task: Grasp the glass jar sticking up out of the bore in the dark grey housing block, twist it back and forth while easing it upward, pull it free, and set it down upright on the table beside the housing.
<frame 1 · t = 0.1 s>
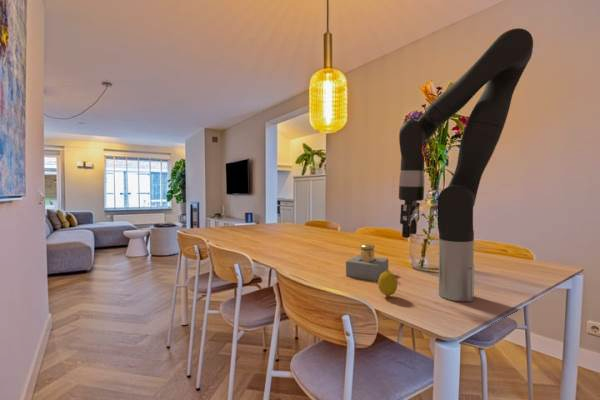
hand: (409, 235, 100), 17 cm above the table, tool pointing down, fingers open, 8 cm apart
lemon: (387, 297, 94), on the table
housing: (367, 274, 117), on the table
glass jar: (367, 260, 117), in the housing
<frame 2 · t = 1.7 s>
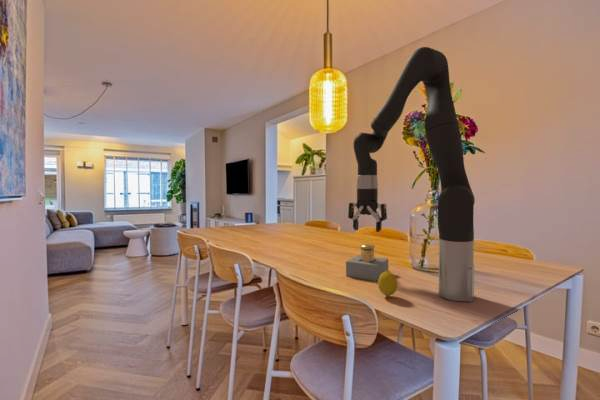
hand: (366, 230, 116), 17 cm above the table, tool pointing down, fingers open, 8 cm apart
nothing on the table moved.
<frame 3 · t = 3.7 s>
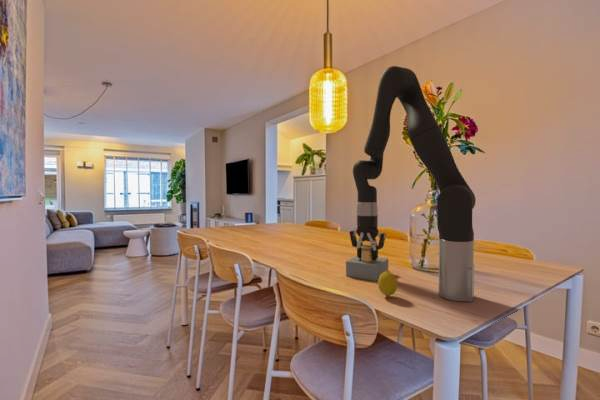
hand: (367, 258, 117), 6 cm above the table, tool pointing down, fingers closed on glass jar, 5 cm apart
glass jar: (367, 260, 117), in the housing, touching gripper
everything else where it was.
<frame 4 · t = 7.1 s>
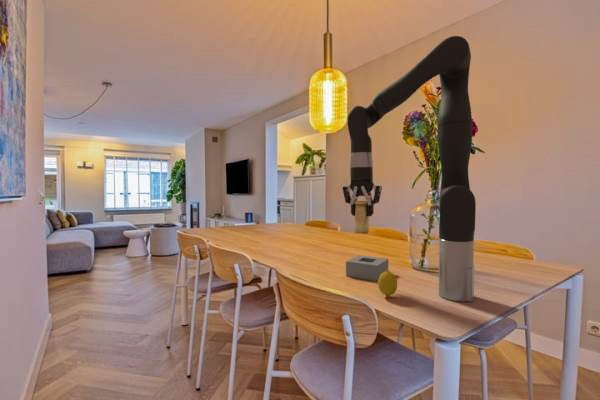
hand: (362, 215, 107), 23 cm above the table, tool pointing down, fingers closed on glass jar, 5 cm apart
glass jar: (361, 216, 107), point 23 cm above the table, touching gripper
everything else where it was.
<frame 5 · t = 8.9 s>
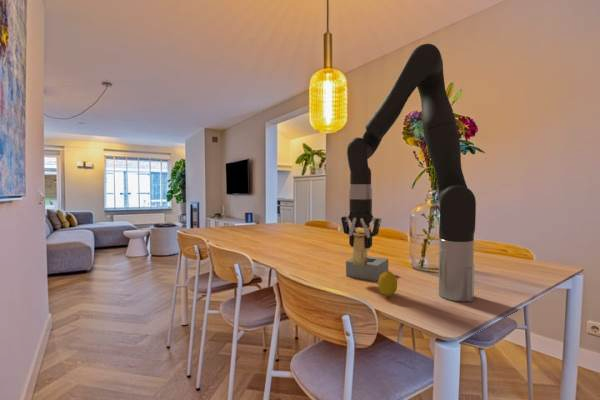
hand: (360, 247, 106), 13 cm above the table, tool pointing down, fingers closed on glass jar, 5 cm apart
glass jar: (360, 248, 106), point 12 cm above the table, touching gripper
everything else where it was.
when the fingers open (7 cm above the table, at t = 10.7 s): glass jar drops 1 cm, on the table.
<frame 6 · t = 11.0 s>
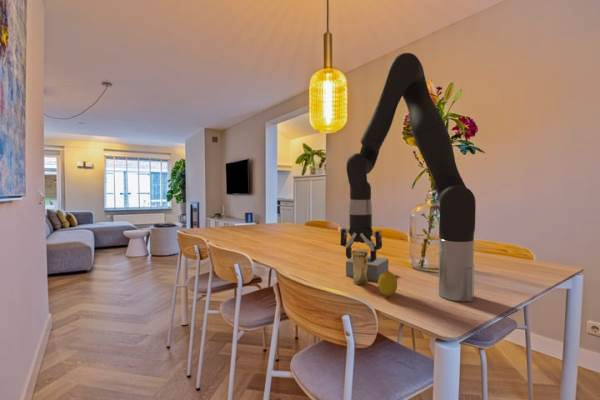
hand: (360, 259, 107), 8 cm above the table, tool pointing down, fingers open, 8 cm apart
glass jar: (360, 267, 107), on the table
everything else where it was.
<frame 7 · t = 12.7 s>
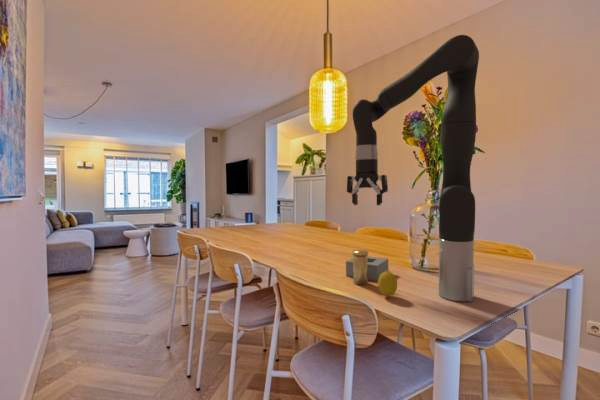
hand: (366, 204, 110), 27 cm above the table, tool pointing down, fingers open, 8 cm apart
nothing on the table moved.
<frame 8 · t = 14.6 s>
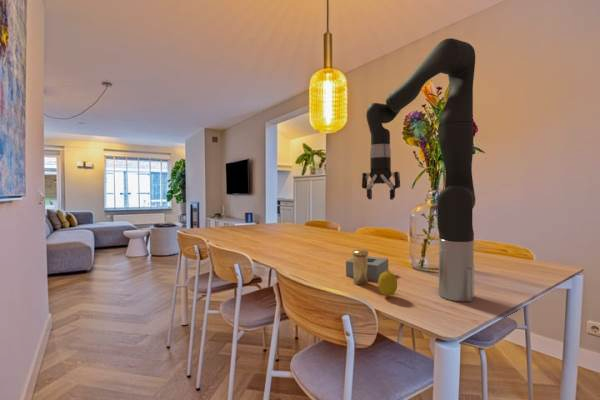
hand: (380, 199, 119), 28 cm above the table, tool pointing down, fingers open, 8 cm apart
nothing on the table moved.
at the end: glass jar inside the target area (0.1 cm from its centre), on the table; glass jar tilted 0°; glass jar touching table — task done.
